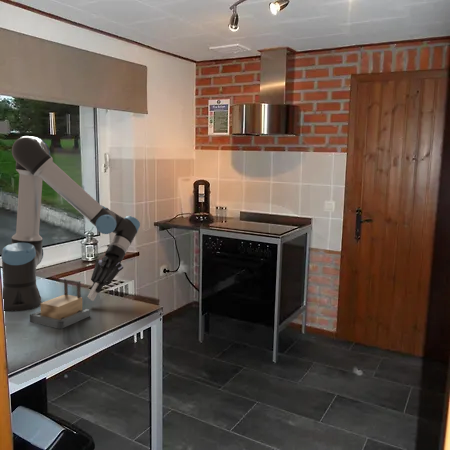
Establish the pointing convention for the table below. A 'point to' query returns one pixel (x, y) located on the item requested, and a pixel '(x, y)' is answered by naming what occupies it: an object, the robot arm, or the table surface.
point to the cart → (63, 303)
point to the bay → (56, 322)
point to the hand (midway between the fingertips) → (90, 298)
